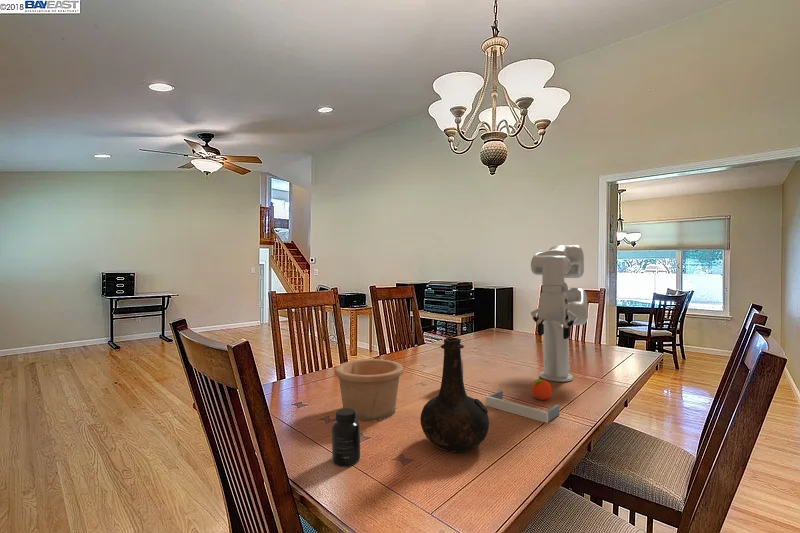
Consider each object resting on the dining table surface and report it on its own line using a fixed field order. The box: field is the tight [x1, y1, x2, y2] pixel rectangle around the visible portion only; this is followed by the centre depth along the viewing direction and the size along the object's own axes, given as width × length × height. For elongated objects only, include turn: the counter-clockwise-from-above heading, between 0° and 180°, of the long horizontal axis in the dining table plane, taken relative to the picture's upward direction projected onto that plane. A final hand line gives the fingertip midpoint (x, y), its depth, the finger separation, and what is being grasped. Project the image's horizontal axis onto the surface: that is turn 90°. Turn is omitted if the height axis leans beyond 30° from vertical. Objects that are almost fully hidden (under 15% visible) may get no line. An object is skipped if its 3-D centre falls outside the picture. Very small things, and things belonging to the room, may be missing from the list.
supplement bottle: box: [331, 407, 361, 467], centre depth 98 cm, size 7×7×12 cm
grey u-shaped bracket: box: [485, 389, 560, 424], centre depth 130 cm, size 9×21×3 cm, turn 45°
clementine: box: [530, 378, 553, 401], centre depth 140 cm, size 8×7×7 cm
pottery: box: [334, 358, 404, 422], centre depth 130 cm, size 22×22×14 cm
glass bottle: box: [419, 337, 490, 453], centre depth 106 cm, size 18×18×28 cm
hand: (553, 336), depth 147 cm, fingers open, 9 cm apart
